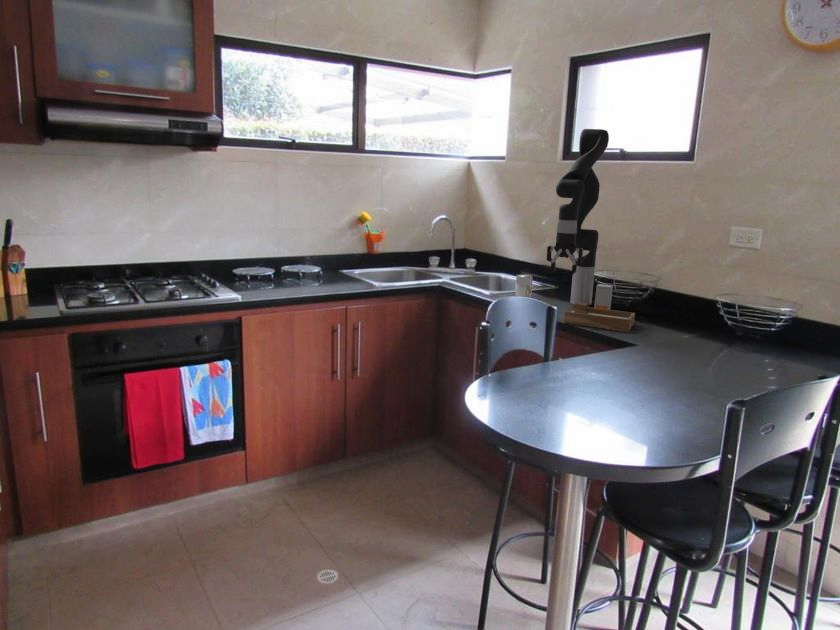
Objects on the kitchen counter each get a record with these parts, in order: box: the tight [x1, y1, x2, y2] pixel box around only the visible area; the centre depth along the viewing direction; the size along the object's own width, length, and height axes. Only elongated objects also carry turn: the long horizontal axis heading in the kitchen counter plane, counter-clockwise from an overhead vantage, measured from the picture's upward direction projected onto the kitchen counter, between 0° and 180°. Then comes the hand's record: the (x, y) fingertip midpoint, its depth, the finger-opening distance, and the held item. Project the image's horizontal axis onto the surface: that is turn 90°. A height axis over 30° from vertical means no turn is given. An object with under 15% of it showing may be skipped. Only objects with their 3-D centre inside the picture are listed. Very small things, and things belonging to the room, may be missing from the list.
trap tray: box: [563, 304, 636, 333], centre depth 238 cm, size 14×24×4 cm, turn 64°
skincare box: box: [593, 283, 614, 310], centre depth 256 cm, size 6×4×12 cm
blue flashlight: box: [514, 274, 533, 298], centre depth 255 cm, size 7×7×15 cm
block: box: [574, 302, 589, 314], centre depth 244 cm, size 4×4×4 cm
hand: (563, 273), depth 244 cm, fingers open, 7 cm apart
